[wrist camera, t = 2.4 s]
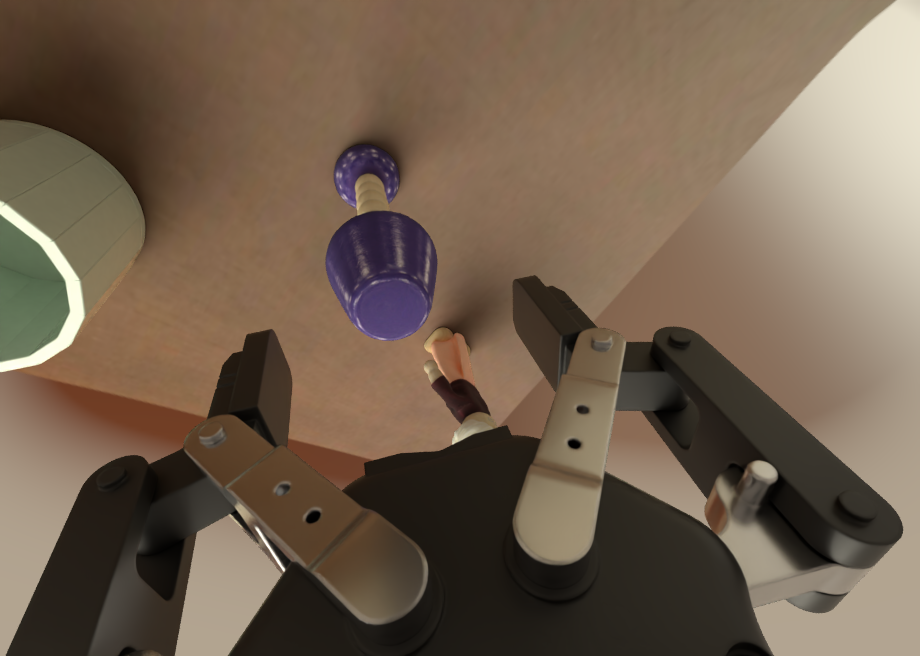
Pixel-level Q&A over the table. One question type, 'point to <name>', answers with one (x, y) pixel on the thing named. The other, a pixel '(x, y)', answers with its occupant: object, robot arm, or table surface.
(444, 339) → the grandmother figurine
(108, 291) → the glazed cup
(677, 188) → the table surface
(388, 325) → the toy lamp
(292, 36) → the table surface
